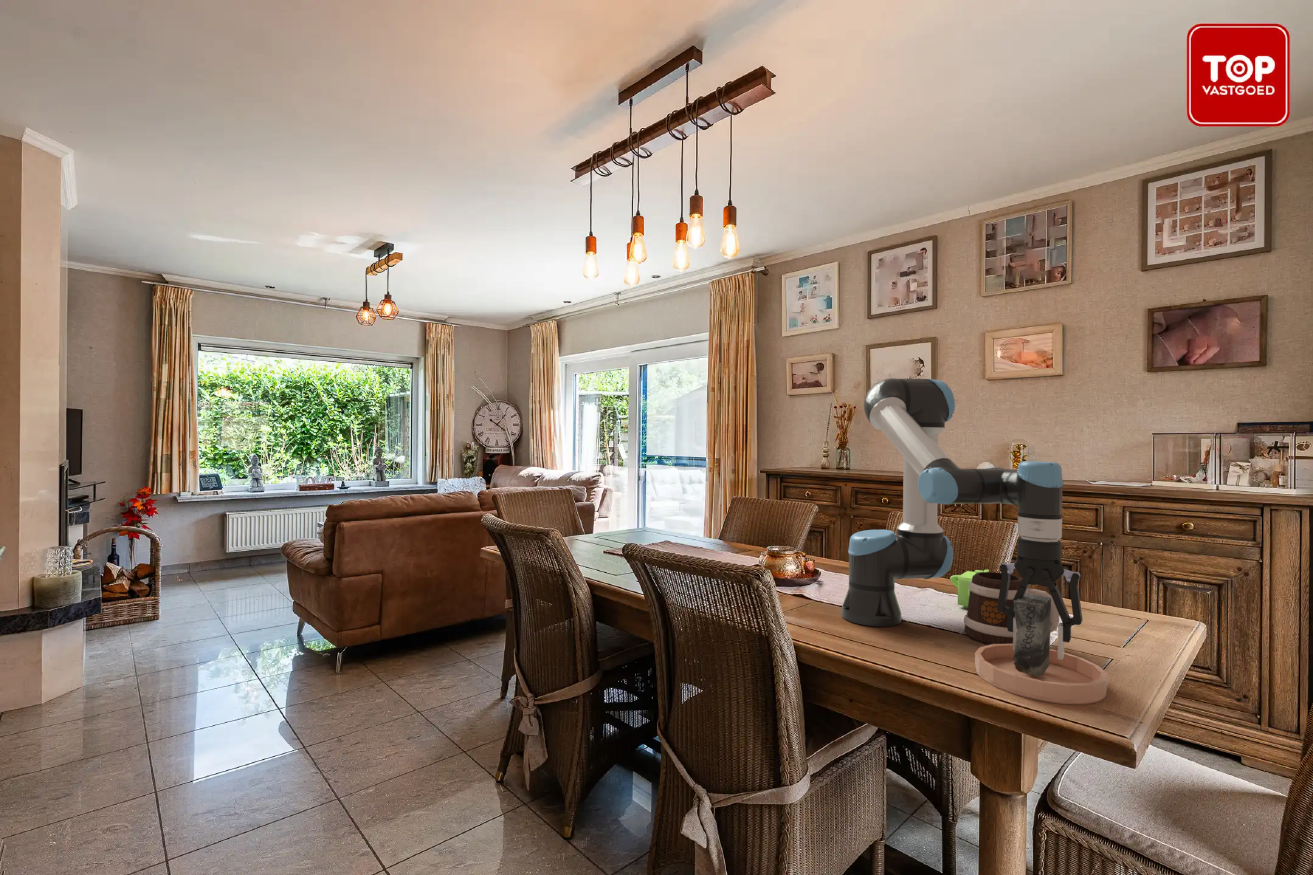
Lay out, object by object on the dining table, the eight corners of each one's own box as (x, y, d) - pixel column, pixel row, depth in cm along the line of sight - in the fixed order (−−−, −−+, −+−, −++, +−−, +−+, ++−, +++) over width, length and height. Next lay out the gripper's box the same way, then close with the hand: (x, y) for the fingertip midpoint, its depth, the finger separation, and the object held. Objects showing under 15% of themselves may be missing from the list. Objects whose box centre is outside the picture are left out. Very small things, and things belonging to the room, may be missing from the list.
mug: (958, 640, 145) (959, 577, 145) (968, 624, 157) (968, 566, 157) (1058, 658, 133) (1058, 590, 133) (1060, 639, 146) (1060, 577, 146)
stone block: (1011, 673, 120) (1042, 680, 116) (1011, 600, 120) (1041, 605, 116) (1022, 661, 126) (1052, 667, 123) (1022, 592, 126) (1051, 596, 123)
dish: (964, 682, 120) (964, 664, 120) (988, 652, 136) (988, 636, 136) (1102, 715, 105) (1102, 695, 105) (1110, 677, 122) (1110, 660, 122)
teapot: (970, 615, 165) (970, 576, 165) (940, 602, 178) (940, 566, 178) (1020, 613, 167) (1020, 575, 167) (987, 600, 181) (987, 565, 181)
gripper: (979, 535, 124) (978, 646, 124) (1099, 547, 112) (1097, 670, 112) (987, 530, 130) (986, 637, 130) (1102, 541, 117) (1100, 659, 118)
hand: (1038, 652), depth 121 cm, fingers open, 7 cm apart
